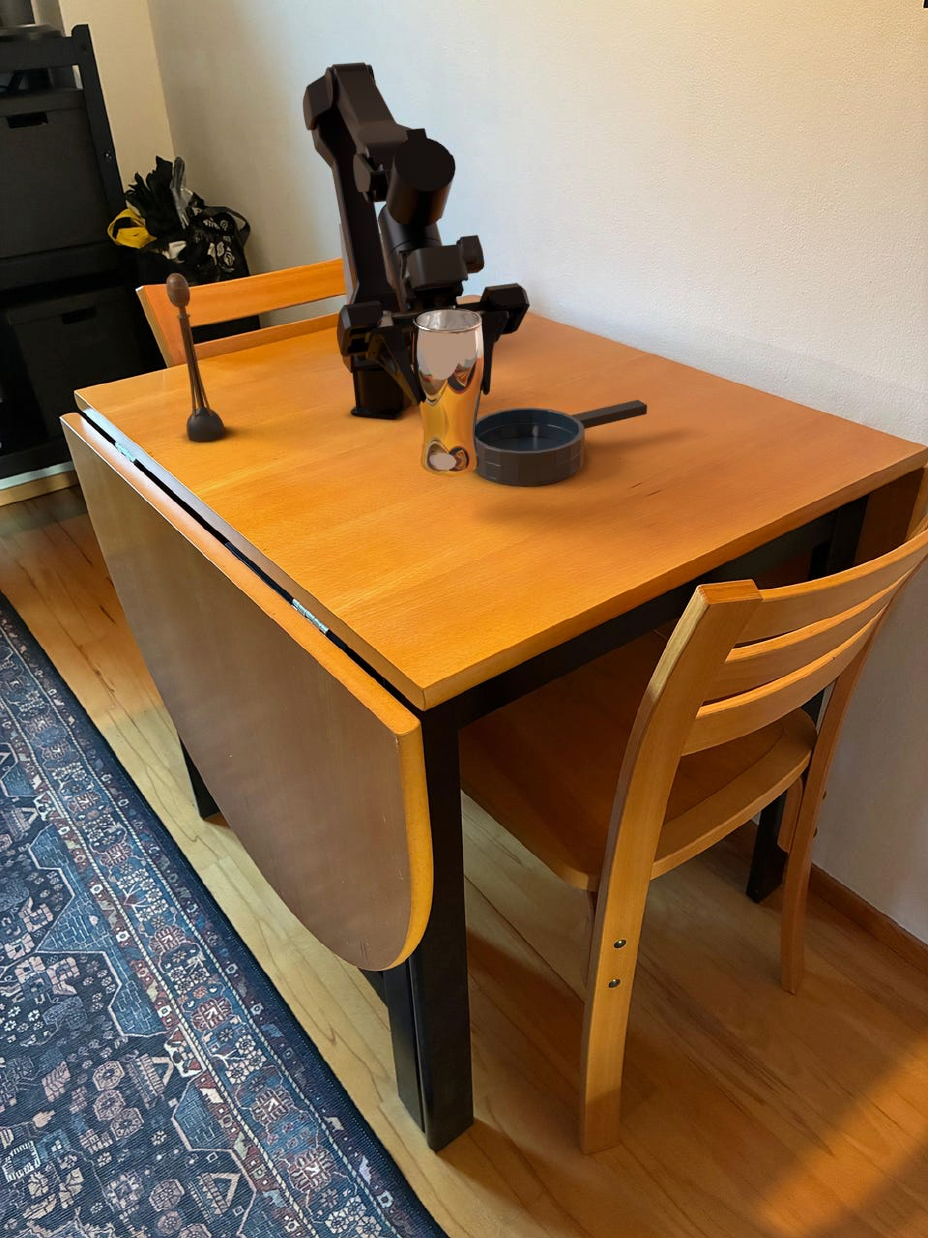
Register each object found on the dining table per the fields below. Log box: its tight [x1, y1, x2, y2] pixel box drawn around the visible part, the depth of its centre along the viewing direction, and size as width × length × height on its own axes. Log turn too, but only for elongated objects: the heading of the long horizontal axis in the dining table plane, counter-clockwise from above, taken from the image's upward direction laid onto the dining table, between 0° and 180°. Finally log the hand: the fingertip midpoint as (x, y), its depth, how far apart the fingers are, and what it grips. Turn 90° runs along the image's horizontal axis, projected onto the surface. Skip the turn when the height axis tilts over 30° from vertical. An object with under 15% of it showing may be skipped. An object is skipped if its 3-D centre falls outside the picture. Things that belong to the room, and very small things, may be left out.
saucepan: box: [472, 407, 586, 487], centre depth 112 cm, size 13×13×4 cm
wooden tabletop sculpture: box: [165, 272, 227, 443], centre depth 119 cm, size 6×5×20 cm
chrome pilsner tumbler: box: [412, 308, 484, 477], centre depth 96 cm, size 7×7×15 cm
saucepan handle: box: [570, 399, 648, 430], centre depth 115 cm, size 10×2×1 cm, turn 116°
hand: (453, 398), depth 95 cm, fingers closed on chrome pilsner tumbler, 7 cm apart
